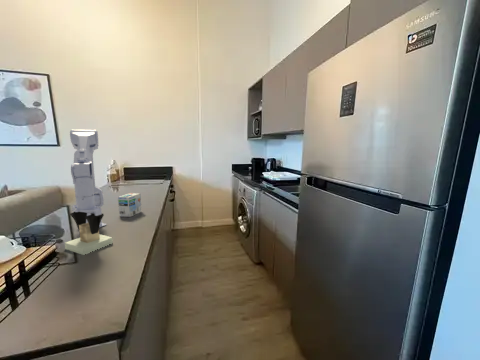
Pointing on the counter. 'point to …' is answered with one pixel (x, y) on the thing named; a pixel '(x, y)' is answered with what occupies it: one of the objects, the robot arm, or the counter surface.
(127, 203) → the light bulb box
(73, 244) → the sage box
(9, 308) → the counter surface
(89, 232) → the birch block
